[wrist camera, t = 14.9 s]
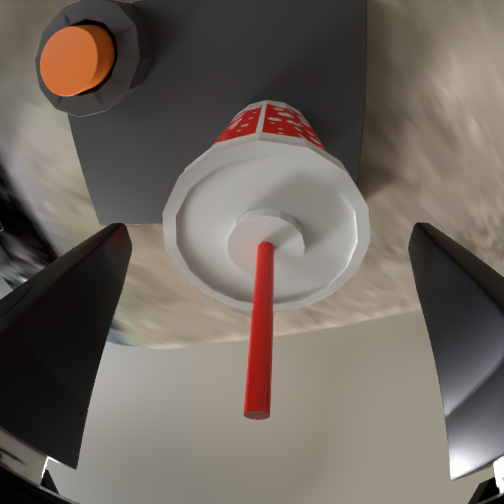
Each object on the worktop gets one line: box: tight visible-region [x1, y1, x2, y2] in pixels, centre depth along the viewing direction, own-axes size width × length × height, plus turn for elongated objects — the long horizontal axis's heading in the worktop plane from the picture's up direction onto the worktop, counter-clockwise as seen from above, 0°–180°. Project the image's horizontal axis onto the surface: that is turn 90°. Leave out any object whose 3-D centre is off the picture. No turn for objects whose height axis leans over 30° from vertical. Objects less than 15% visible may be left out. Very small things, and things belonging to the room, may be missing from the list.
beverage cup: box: [162, 100, 370, 420], centre depth 10 cm, size 6×6×14 cm
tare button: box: [40, 25, 115, 96], centre depth 11 cm, size 4×4×2 cm
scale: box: [35, 0, 367, 226], centre depth 15 cm, size 17×15×3 cm
